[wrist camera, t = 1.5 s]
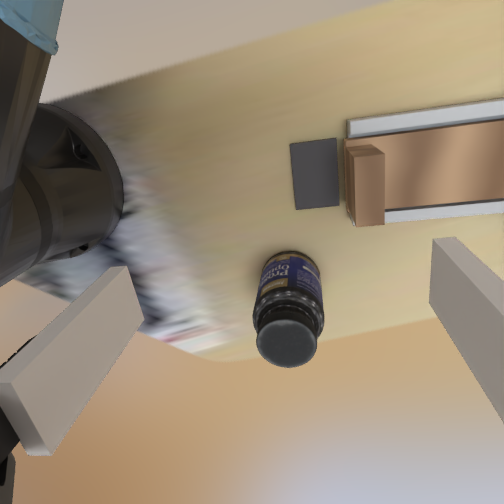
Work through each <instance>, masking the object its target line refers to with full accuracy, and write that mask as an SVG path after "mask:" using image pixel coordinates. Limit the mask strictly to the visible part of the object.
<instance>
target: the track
mask: <svg viewBox="0 0 504 504" xmlns="http://www.w3.org/2000/svg"><path fill="white" fill-rule="evenodd" d="M500 118H504V98H498V99H491V100H484V101H477V102H470V103H462V104H455V105H448V106H441V107H434V108H427V109H420V110H412V111H405V112H398V113H391V114H384V115H377V116H370V117H362V118H355V119H348V120H347V138H354V137H362V136H370V135H377V134H385V133H393V132H400V131H408V130H416V129H423V128H431V127H438V126H446V125H454V124H461V123H469V122H477V121H484V120H492V119H500ZM495 213H504V198H497V199H487V200H476V201H466V202H455V203H444V204H434V205H423V206H413V207H402V208H392V209H385V223H392V222H404V221H415V220H426V219H438V218H449V217H460V216H472V215H483V214H495ZM350 218H351V221H352V223H353V226H355V223H354V221H353V218H352V216H351V214H350Z"/></svg>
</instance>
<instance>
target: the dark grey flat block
mask: <svg viewBox="0 0 504 504" xmlns="http://www.w3.org/2000/svg"><path fill="white" fill-rule="evenodd" d="M290 151H291V161H292V172H293V182H294V193H295V203H296V210H301V209H311V208H321V207H331V206H339V184H338V161H337V139H336V138H330V139H323V140H315V141H308V142H300V143H292V144H290Z"/></svg>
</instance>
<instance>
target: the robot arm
mask: <svg viewBox="0 0 504 504" xmlns="http://www.w3.org/2000/svg"><path fill="white" fill-rule="evenodd" d="M63 2H64V0H0V287H1V286H3V285H4V284H6V283H7V282H9V281H11V280H12V279H14V278H15V277H17V276H18V275H20V274H21V273H23V272H24V271H26V270H27V269H29V268H30V267H32V266H34V265H35V264H41V263H46V262H51V261H56V260H62V259H67V258H72V257H76V256H79V255H82V254H84V253H86V252H88V251H90V250H92V249H93V248H94V247H96V246H97V245H99V244H100V243H101V242H103V241H104V240H105V239H106V238H107V237H108V236H109V235H110V234H111V233H112V232H113V230H114V229H115V227H116V226H117V224H118V221H119V219H120V216H121V212H122V207H123V187H122V181H121V177H120V173H119V170H118V167H117V165H116V163H115V160H114V158H113V156H112V155H111V153H110V151H109V149H108V148H107V146H106V145H105V144H104V142H103V141H102V140H101V138H100V137H99V136H98V135H97V134H96V133H95V132H94V131H93V130H92V129H91V128H90V127H89V126H88V125H87V124H86V123H84V122H83V121H82V120H80V119H79V118H78V117H76V116H74V115H73V114H71V113H69V112H67V111H65V110H63V109H61V108H58V107H55V106H52V105H48V104H43V103H39V99H40V96H41V92H42V88H43V85H44V81H45V77H46V74H47V70H48V66H49V62H50V59H51V55H55V54H56V53H57V51H58V44H57V41H56V40H55V39H56V34H57V30H58V25H59V20H60V16H61V11H62V6H63ZM429 304H430V305H431V307H432V308H433V310H434V312H435V313H436V315H437V316H438V318H439V320H440V321H441V323H442V324H443V326H444V328H445V329H446V331H447V333H448V334H449V336H450V337H451V339H452V341H453V342H454V344H455V345H456V347H457V349H458V350H459V352H460V353H461V355H462V357H463V358H464V360H465V361H466V363H467V365H468V366H469V368H470V370H471V371H472V373H473V374H474V376H475V377H476V379H477V381H478V382H479V384H480V385H481V387H482V389H483V391H484V392H485V394H486V395H487V397H488V399H489V400H490V402H491V403H492V405H493V407H494V408H495V410H496V411H497V413H498V414H499V416H500V418H501V419H502V421H503V422H504V281H503V280H502V279H501V278H500V277H498V276H497V275H496V274H495V273H494V272H493V271H492V270H491V269H490V268H489V267H488V266H487V265H485V264H484V263H483V262H482V261H481V260H480V259H479V258H478V257H477V256H476V255H475V254H473V253H472V252H471V251H470V250H469V249H468V248H467V247H466V246H465V245H464V244H463V243H461V242H460V241H459V240H458V239H457V238H456V237H448V238H437V239H433V243H432V260H431V277H430V294H429ZM143 321H144V317H143V314H142V311H141V308H140V305H139V302H138V299H137V295H136V292H135V289H134V286H133V283H132V280H131V277H130V274H129V271H128V268H127V266H118V267H110V268H109V269H108V270H107V271H106V272H105V273H104V274H103V275H101V276H100V277H99V278H98V279H97V280H96V281H95V282H94V283H93V284H92V285H91V286H90V287H89V288H87V289H86V290H85V291H84V292H83V293H82V294H81V295H80V296H79V297H78V298H77V299H76V300H74V301H73V302H72V303H71V304H70V305H69V306H68V307H67V308H66V309H65V310H64V311H63V312H62V313H60V314H59V315H58V316H57V317H56V318H55V319H54V320H53V321H52V322H51V323H50V324H49V325H48V326H46V327H45V328H44V329H43V330H42V331H41V332H40V333H39V334H38V335H36V336H35V337H33V338H31V339H30V340H28V341H27V342H26V343H25V344H24V345H23V346H22V347H21V348H20V349H18V351H17V353H14V354H13V355H12V356H11V357H10V358H9V359H8V361H7V362H4V363H3V364H2V365H1V366H0V504H12V498H13V487H14V475H15V463H16V462H15V458H14V456H13V454H12V453H11V451H12V450H13V448H14V447H15V446H16V445H17V444H18V442H19V441H20V443H21V444H22V446H23V448H24V449H25V451H26V453H27V454H28V455H38V456H40V455H41V456H51V455H52V454H53V453H54V451H55V450H56V448H57V447H58V445H59V444H60V442H61V441H62V440H63V438H64V437H65V435H66V434H67V432H68V431H69V429H70V428H71V426H72V425H73V423H74V422H75V420H76V419H77V418H78V416H79V415H80V413H81V412H82V410H83V409H84V407H85V406H86V404H87V403H88V401H89V400H90V398H91V397H92V395H93V394H94V393H95V391H96V390H97V388H98V387H99V385H100V384H101V382H102V381H103V379H104V378H105V376H106V375H107V373H108V372H109V371H110V369H111V367H112V366H113V365H114V363H115V362H116V360H117V359H118V357H119V356H120V354H121V353H122V351H123V350H124V349H125V347H126V346H127V344H128V343H129V341H130V340H131V338H132V337H133V335H134V334H135V332H136V331H137V329H138V328H139V326H140V325H141V324H142V322H143Z"/></svg>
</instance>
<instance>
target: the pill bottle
mask: <svg viewBox="0 0 504 504" xmlns="http://www.w3.org/2000/svg"><path fill="white" fill-rule="evenodd" d="M253 324H254V328H255V330H256V332H257V339H256V344H257V348H258V351H259V353H260V354H261V355H262V357H263V358H264V359H266V360H267V361H268V362H270V363H272V364H274V365H276V366H280V367H287V368H292V367H297V366H300V365H303V364H305V363H307V362H308V361H309V360H310V359H311V358H312V357H313V356H314V354H315V352H316V349H317V339H318V337H319V336H320V334H321V332H322V330H323V326H324V310H323V299H322V288H321V279H320V272H319V270H318V268H317V266H316V265H315V263H314V262H313V261H312V260H311V259H310V258H309V257H307V256H305V255H303V254H301V253H297V252H284V253H280V254H277V255H275V256H274V257H273V258H271V259H270V260H269V261H268V262H267V263H266V265H265V266H264V268H263V271H262V275H261V279H260V284H259V288H258V293H257V297H256V302H255V306H254V311H253Z"/></svg>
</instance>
